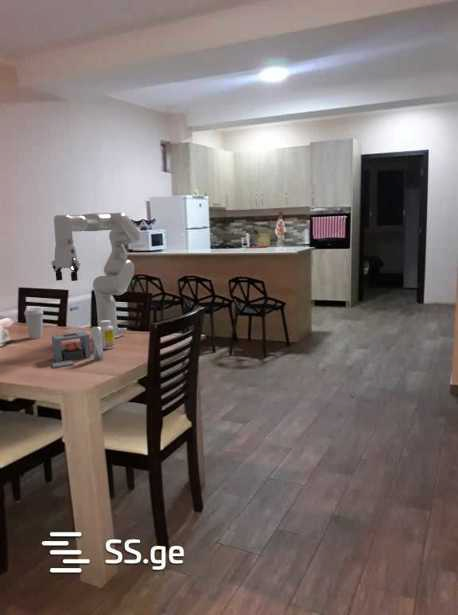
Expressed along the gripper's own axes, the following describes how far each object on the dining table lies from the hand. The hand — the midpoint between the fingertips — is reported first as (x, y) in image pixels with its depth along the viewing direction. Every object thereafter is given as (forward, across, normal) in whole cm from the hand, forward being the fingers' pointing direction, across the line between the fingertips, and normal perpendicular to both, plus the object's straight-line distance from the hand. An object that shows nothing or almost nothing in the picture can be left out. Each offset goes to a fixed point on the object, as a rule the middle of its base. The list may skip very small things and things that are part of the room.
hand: (66, 280), depth 229 cm
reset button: (+29, -11, +11) cm, 33 cm away
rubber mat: (+33, -17, +21) cm, 42 cm away
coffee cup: (+32, +39, -12) cm, 52 cm away
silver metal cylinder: (+33, -25, +8) cm, 42 cm away
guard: (+33, -11, +10) cm, 36 cm away
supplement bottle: (+32, -14, -9) cm, 36 cm away
